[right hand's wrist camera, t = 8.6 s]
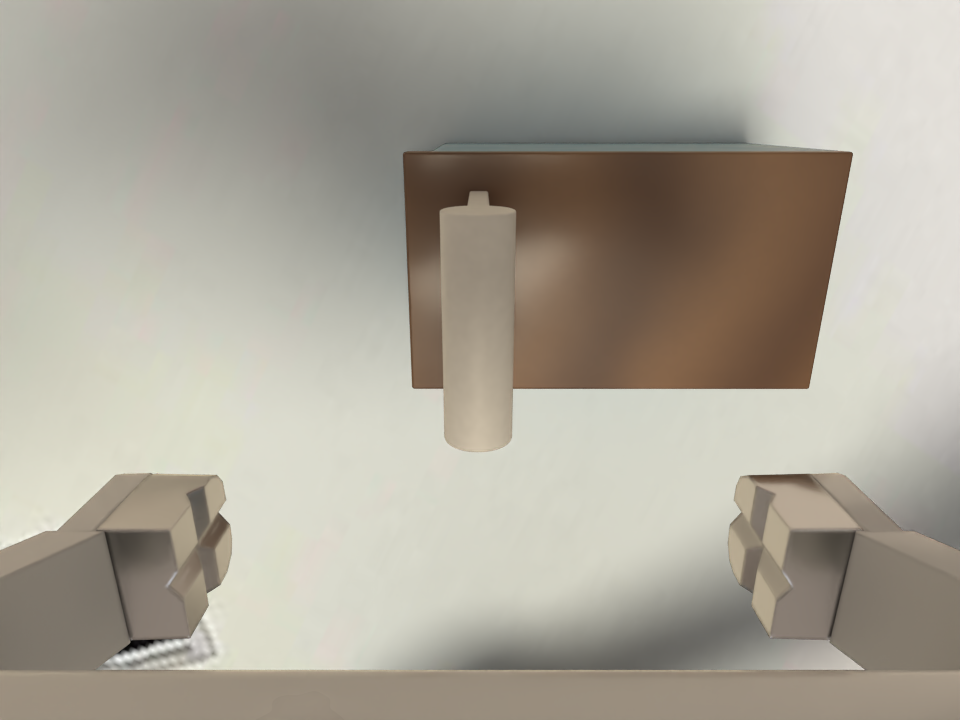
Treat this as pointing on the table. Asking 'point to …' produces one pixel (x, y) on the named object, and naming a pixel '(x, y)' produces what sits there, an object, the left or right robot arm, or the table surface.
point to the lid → (614, 273)
